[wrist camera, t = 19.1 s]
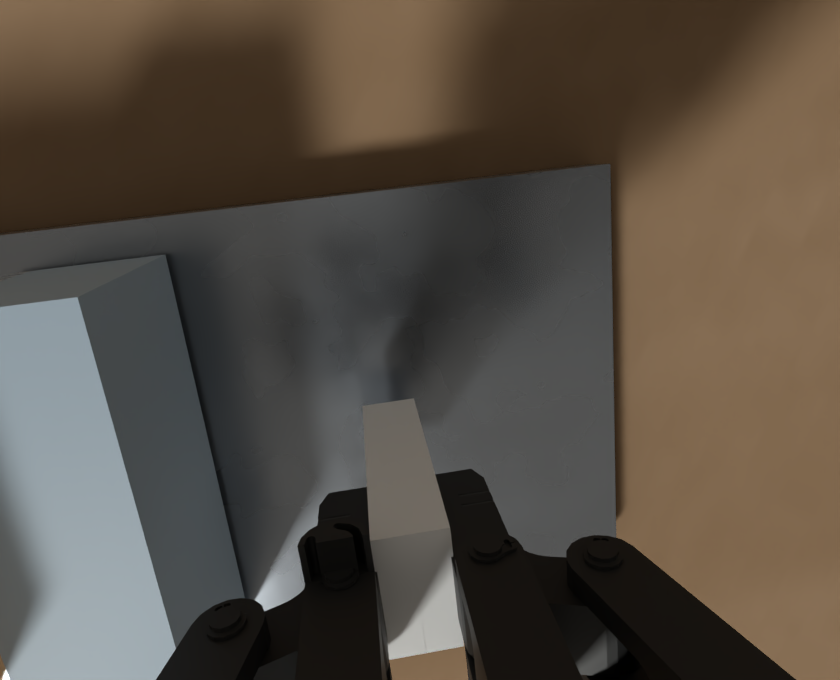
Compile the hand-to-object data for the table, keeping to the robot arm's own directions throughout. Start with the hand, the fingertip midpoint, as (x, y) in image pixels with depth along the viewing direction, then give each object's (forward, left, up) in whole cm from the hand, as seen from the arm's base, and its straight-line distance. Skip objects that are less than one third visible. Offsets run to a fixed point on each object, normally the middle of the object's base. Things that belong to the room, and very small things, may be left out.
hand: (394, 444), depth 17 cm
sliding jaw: (+7, 0, -1) cm, 8 cm away
